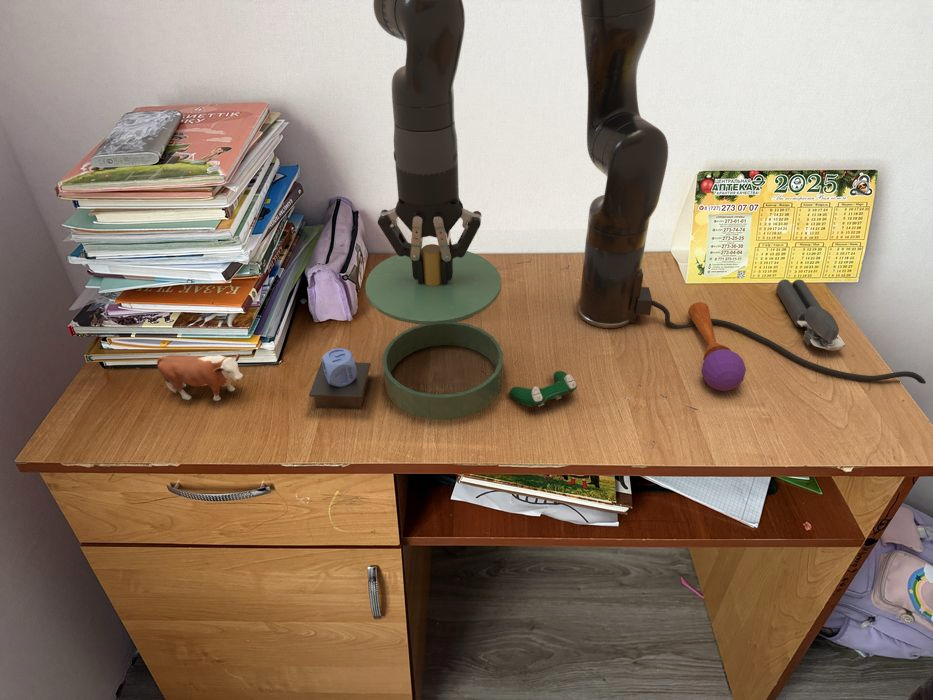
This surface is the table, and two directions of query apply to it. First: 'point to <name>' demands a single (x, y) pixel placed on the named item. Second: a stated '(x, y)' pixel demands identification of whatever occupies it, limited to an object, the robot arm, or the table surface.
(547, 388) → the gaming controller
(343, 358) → the decorative dice
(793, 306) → the can opener
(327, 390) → the stand
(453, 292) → the tin lid
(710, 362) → the purple maraca
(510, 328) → the table surface
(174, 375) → the bull figurine
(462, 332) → the tin
